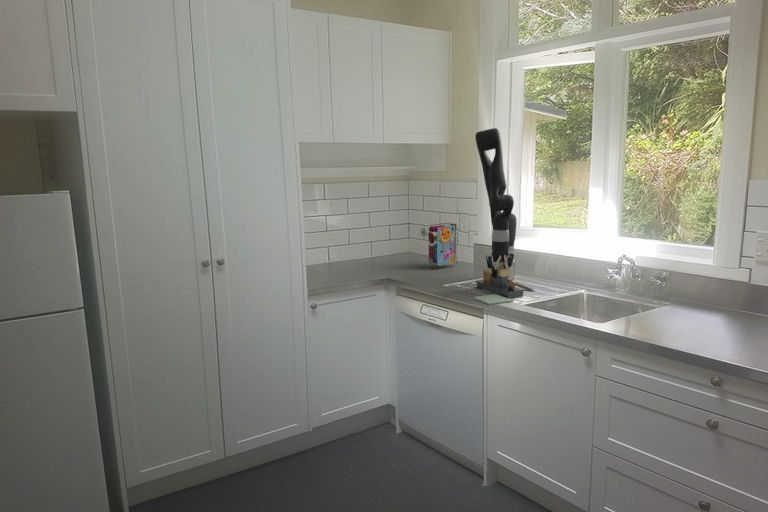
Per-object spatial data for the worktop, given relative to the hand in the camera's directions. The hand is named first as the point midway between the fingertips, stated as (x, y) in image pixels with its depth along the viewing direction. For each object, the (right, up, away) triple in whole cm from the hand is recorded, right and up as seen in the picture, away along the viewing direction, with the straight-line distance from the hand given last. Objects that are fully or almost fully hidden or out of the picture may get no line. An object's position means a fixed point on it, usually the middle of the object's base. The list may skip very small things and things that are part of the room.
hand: (499, 276), depth 250 cm
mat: (-5, -9, -13) cm, 17 cm away
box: (-23, +2, +56) cm, 60 cm away
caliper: (+9, -6, +8) cm, 14 cm away
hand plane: (0, -7, +1) cm, 7 cm away
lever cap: (0, +1, 0) cm, 1 cm away
